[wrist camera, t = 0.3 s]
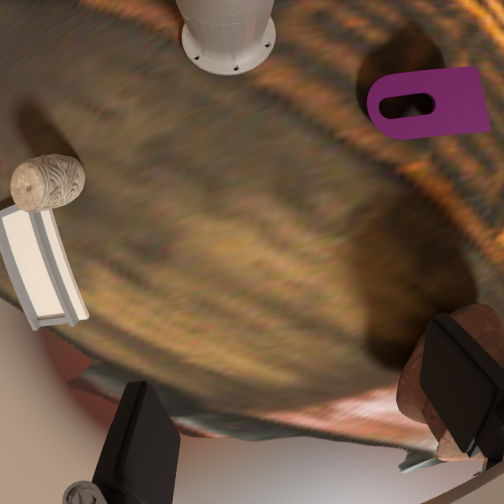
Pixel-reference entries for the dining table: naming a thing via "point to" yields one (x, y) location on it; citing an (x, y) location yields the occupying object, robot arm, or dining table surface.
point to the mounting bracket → (444, 103)
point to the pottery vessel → (409, 390)
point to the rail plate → (39, 268)
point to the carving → (46, 182)
